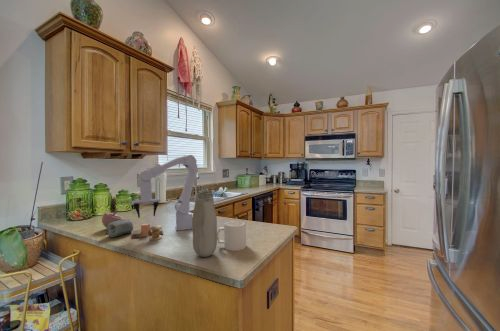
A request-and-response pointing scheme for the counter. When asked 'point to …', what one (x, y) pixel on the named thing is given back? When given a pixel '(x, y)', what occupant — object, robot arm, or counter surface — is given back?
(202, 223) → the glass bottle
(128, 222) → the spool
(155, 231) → the bobbin
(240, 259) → the counter surface
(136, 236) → the notched board
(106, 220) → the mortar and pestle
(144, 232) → the salmon pink cuboid
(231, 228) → the mug
